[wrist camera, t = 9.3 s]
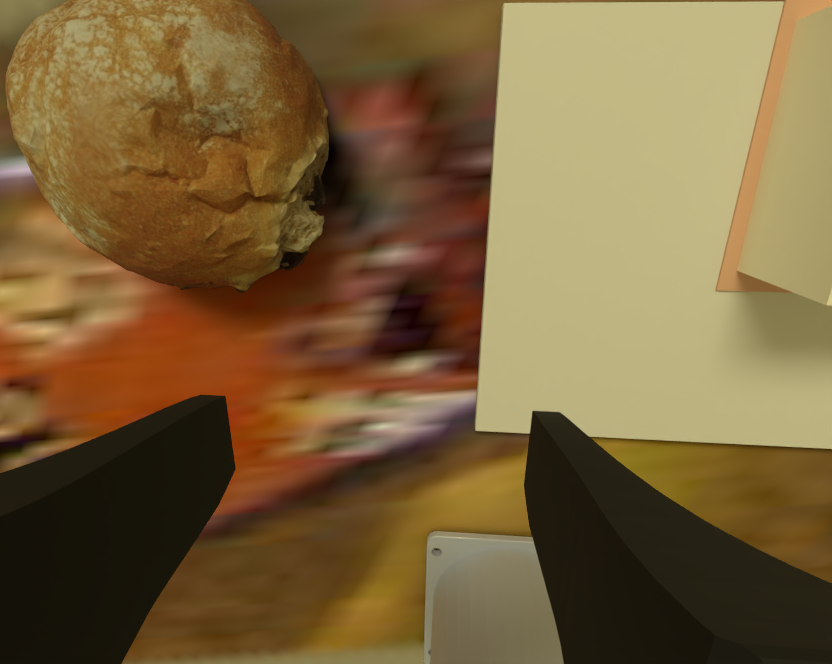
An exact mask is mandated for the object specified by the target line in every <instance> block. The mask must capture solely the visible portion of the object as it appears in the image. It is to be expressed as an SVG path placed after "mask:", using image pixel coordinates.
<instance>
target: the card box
mask: <svg viewBox="0 0 832 664" xmlns="http://www.w3.org/2000/svg"><path fill="white" fill-rule="evenodd" d="M737 271H739V272H742V273H744V274H747V275H749V276H752V277H755V278H757V279H760V280H762V281H765V282H767V283H770V284H773V285H775V286H778V287H780V288H783V289H785V290H788V291H791V292H793V293H796V294H798V295H801V296H803V297H806V298H809V299H811V300H814V301H816V302H819V303H821V304H824V305H830V306H832V6H830V7H827V8H825V9H822V10H820V11H818V12H815V13H813V14H810V15H808V16H805V17H803V18H800V19H798V20H796V24H795V28H794V32H793V36H792V40H791V45H790V49H789V53H788V57H787V61H786V66H785V70H784V74H783V78H782V82H781V86H780V91H779V95H778V99H777V103H776V107H775V112H774V116H773V120H772V124H771V128H770V133H769V137H768V141H767V145H766V149H765V154H764V158H763V162H762V166H761V170H760V175H759V179H758V183H757V187H756V191H755V196H754V200H753V204H752V208H751V212H750V217H749V221H748V225H747V229H746V233H745V238H744V242H743V246H742V250H741V254H740V259H739V263H738V267H737Z"/></svg>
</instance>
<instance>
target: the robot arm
mask: <svg viewBox="0 0 832 664" xmlns="http://www.w3.org/2000/svg"><path fill="white" fill-rule="evenodd" d="M234 471H235V462H234V455H233V448H232V440H231V433H230V426H229V419H228V412H227V404H226V397H225V396H213V395H199V396H195V397H192V398H189V399H186V400H184V401H181V402H179V403H176V404H174V405H171V406H169V407H167V408H164V409H162V410H160V411H157V412H155V413H153V414H151V415H148V416H146V417H144V418H142V419H139V420H137V421H135V422H133V423H130V424H128V425H126V426H123V427H121V428H119V429H117V430H114V431H112V432H109V433H107V434H105V435H102V436H100V437H97V438H95V439H92V440H90V441H87V442H85V443H83V444H80V445H78V446H75V447H73V448H70V449H68V450H65V451H63V452H60V453H58V454H55V455H52V456H50V457H47V458H44V459H41V460H38V461H36V462H33V463H30V464H27V465H24V466H21V467H18V468H15V469H12V470H9V471H6V472H3V473H0V664H121V663H122V661H123V659H124V658H125V656H126V654H127V652H128V650H129V648H130V646H131V645H132V643H133V641H134V639H135V637H136V635H137V633H138V631H139V630H140V628H141V626H142V624H143V622H144V620H145V618H146V616H147V615H148V613H149V611H150V610H151V608H152V606H153V605H154V603H155V601H156V600H157V598H158V596H159V595H160V593H161V592H162V590H163V589H164V587H165V586H166V584H167V583H168V581H169V580H170V578H171V577H172V575H173V574H174V572H175V571H176V569H177V568H178V566H179V565H180V563H181V562H182V560H183V559H184V557H185V556H186V554H187V553H188V551H189V550H190V548H191V547H192V545H193V544H194V542H195V541H196V539H197V538H198V536H199V534H200V533H201V531H202V530H203V528H204V527H205V525H206V524H207V522H208V521H209V519H210V518H211V516H212V515H213V513H214V511H215V510H216V508H217V507H218V505H219V503H220V501H221V499H222V497H223V495H224V493H225V491H226V489H227V486H228V484H229V482H230V480H231V478H232V475H233V473H234ZM524 489H525V497H526V505H527V512H528V519H529V526H530V529H531V533H532V537H523V536H507V535H492V534H476V533H460V532H445V531H433V532H431V533H430V534H429V535H428V537H427V557H426V592H425V627H424V662H423V663H424V664H832V584H831V583H829V582H827V581H825V580H822V579H820V578H818V577H816V576H813V575H811V574H809V573H807V572H804V571H802V570H800V569H798V568H795V567H793V566H791V565H789V564H787V563H785V562H783V561H781V560H779V559H777V558H774V557H772V556H770V555H768V554H766V553H764V552H762V551H760V550H758V549H756V548H754V547H752V546H751V545H749V544H747V543H745V542H743V541H741V540H739V539H737V538H735V537H734V536H732V535H730V534H728V533H726V532H724V531H722V530H720V529H719V528H717V527H715V526H713V525H712V524H710V523H708V522H706V521H705V520H703V519H701V518H700V517H698V516H696V515H695V514H693V513H692V512H690V511H688V510H687V509H685V508H684V507H682V506H680V505H679V504H677V503H676V502H674V501H672V500H671V499H669V498H668V497H666V496H665V495H663V494H662V493H660V492H659V491H657V490H656V489H655V488H653V487H652V486H650V485H649V484H648V483H646V482H645V481H644V480H642V479H641V478H639V477H638V476H637V475H635V474H634V473H633V472H631V471H630V470H629V469H627V468H626V467H625V466H624V465H622V464H621V463H620V462H618V461H617V460H616V459H615V458H614V457H612V456H611V455H610V454H609V453H607V452H606V451H605V450H604V449H603V448H601V447H600V446H599V445H598V444H597V443H596V442H594V441H593V440H592V439H591V438H590V437H589V436H588V435H586V434H585V433H584V432H583V431H582V430H581V429H579V428H578V427H577V426H576V425H575V424H574V423H573V422H571V421H570V420H569V419H568V418H567V417H566V416H564V415H563V414H562V413H560V412H549V411H532V419H531V428H530V437H529V446H528V455H527V463H526V472H525V481H524ZM434 548H438V549H440V550H434Z"/></svg>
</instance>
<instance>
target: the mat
mask: <svg viewBox="0 0 832 664" xmlns="http://www.w3.org/2000/svg"><path fill="white" fill-rule="evenodd" d="M830 6H832V0H784V2H622V3H504V4H503V7H502V16H501V32H500V47H499V62H498V78H497V93H496V108H495V123H494V139H493V154H492V169H491V184H490V200H489V215H488V230H487V246H486V261H485V276H484V291H483V307H482V322H481V337H480V353H479V368H478V383H477V398H476V414H475V431H489V432H509V433H529V434H530V428H531V419H532V411H549V412H560V413H562V414H563V415H564V416H566V417H567V418H568V419H569V420H570V421H571V422H573V423H574V424H575V425H576V426H577V427H578V428H579V429H581V430H582V431H583V432H584V433H585V434H586V435H588V436H589V437H608V438H627V439H647V440H667V441H687V442H706V443H726V444H746V445H766V446H785V447H805V448H825V449H832V306H830V305H824V304H821V303H819V302H816V301H814V300H811V299H809V298H806V297H803V296H801V295H798V294H796V293H793V292H791V291H788V290H785V289H783V288H780V287H778V286H775V285H773V284H770V283H767V282H765V281H762V280H760V279H757V278H755V277H752V276H749V275H747V274H744V273H742V272H739V271H737V267H738V263H739V259H740V254H741V250H742V246H743V242H744V238H745V233H746V229H747V225H748V221H749V217H750V212H751V208H752V204H753V200H754V196H755V191H756V187H757V183H758V179H759V175H760V170H761V166H762V162H763V158H764V154H765V149H766V145H767V141H768V137H769V133H770V128H771V124H772V120H773V116H774V112H775V107H776V103H777V99H778V95H779V91H780V86H781V82H782V78H783V74H784V70H785V66H786V61H787V57H788V53H789V49H790V45H791V40H792V36H793V32H794V28H795V24H796V20H798V19H800V18H803V17H805V16H808V15H810V14H813V13H815V12H818V11H820V10H822V9H825V8H827V7H830Z"/></svg>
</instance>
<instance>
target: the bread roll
mask: <svg viewBox="0 0 832 664" xmlns="http://www.w3.org/2000/svg"><path fill="white" fill-rule="evenodd" d="M6 96H7V104H8V110H9V115H10V122H11V126H12V130H13V137H14V139H15V140H16V142H17V144H18V146H19V148H20V149H21V151H22V153H23V154H24V156H25V159H26V161H27V163H28V166H29V168H30V170H31V172H32V173H33V175H34V178H35V181H36V183H37V185H38V187H39V189H40V191H41V193H42V194H43V196H44V197H45V199H46V200H47V202H48V203H49V205H50V206H51V208H52V209H53V211H54V212H55V214H56V215H57V217H58V218H59V219H60V220H61V221H62V222H63V223H64V224H65V225H66V227H67V228H68V229H69V230H70V231H71V232H72V233H73V234H74V235H75V236H76V237H77V238H78V239H79V240H80V241H81V242H82V243H83V244H84V245H86V246H87V247H89V248H90V249H92V250H94V251H96V252H98V253H99V254H101V255H103V256H105V257H106V258H108V259H110V260H111V261H113V262H115V263H116V264H118V265H120V266H121V267H123V268H124V269H126V270H128V271H132V272H135V273H137V274H139V275H142V276H144V277H147V278H149V279H151V280H154V281H156V282H159V283H164V284H168V285H177V286H179V287H180V289H181V290H183V289H188V288H199V287H200V288H213V289H214V288H219V287H226V286H232V287H234V288H235V289H236V290H238V291H239V292H242V293H243V292H245V291H246V290H248V289H249V288H250V287H251V285H252V284H253V283H254V282H255V281H256V280H258V279H259V278H261V277H263V276H265V275H267V274H269V273H272V272H274V271H275V270H276V269H279V270H280V269H285V270H291V269H293V268H295V267H297V266H298V265H300V264H302V262H303V261H304V258H305V256H306V255H307V254H308V250H309V248H310V245H311V243H312V242H314V241H315V240H316V239H317V238H318V237H319V236H320V235H321V233H322V232H323V231H322V226H323V224H324V216H319V215H318V214H317V212H316V210H318V209H319V208H320V207H321V206H322V205H323V204H325V189H324V185H323V182H322V180H321V175H322V173H323V170H324V167H325V163H326V161H327V160H328V152H329V134H328V127H327V116H328V110H327V109H326V107H325V104H324V100H323V97H322V94H321V91H320V88H319V86H318V83H317V81H316V78H315V76H314V74H313V72H312V71H311V69H310V67H309V65H308V63H307V62H306V61H305V59H304V58H303V57H302V55H301V54H300V53H299V52H298V50H297V49H296V48H295V46H294V45H293V44H291V43H290V42H289V41H285V40H283V39H281V38H280V36H279V35H278V33H277V31H276V29H275V27H274V26H273V25H272V24H271V23H270V22H269V21H268V20H267V19H266V18H265V17H264V16H263V15H262V14H261V13H260V12H259V11H258V10H257V9H256V8H255V7H254V6H252V5H251V4H250V3H249V2H248V1H247V0H69V1H66V2H65V3H64V4H63V5H60V6H57V7H55V8H54V9H52V10H50V11H48V12H47V13H45V14H43V15H41V16H39V17H37V18H36V19H35V20H34V21H33V23H32V24H31V25H30V26H29V27H28V28H27V29H26V30H25V31H24V32H23V34H22V36H21V38H20V39H19V41H18V43H17V45H16V48H15V50H14V53H13V56H12V58H11V61H10V64H9V66H8V69H7V72H6ZM273 204H274V205H273Z"/></svg>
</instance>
